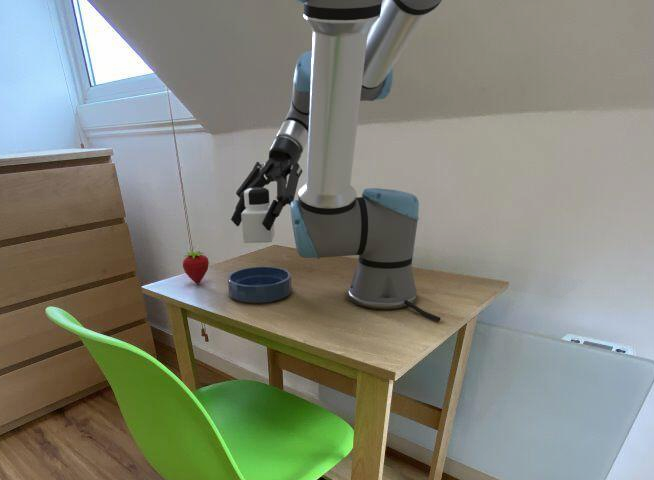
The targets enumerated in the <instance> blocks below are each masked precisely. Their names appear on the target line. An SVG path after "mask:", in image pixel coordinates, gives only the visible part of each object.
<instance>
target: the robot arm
mask: <svg viewBox="0 0 654 480" xmlns="http://www.w3.org/2000/svg"><path fill="white" fill-rule="evenodd" d="M295 1H297V2H298V3H300V4H303V18H304V20H305V21H306V22H307V23H308V25H309V26H310V28H311V30H312V42H311V43H312V44H311V45H312V46H311V50H308V51H305V52H303V53H302V54H301V55H300V56H299V58H298V59H297V62H296V64H295V69H294V74H293V86H292V95H291V99H290V107H289V110H288V112H287V115H286V116H285V119H284V120H283V123H282V124H281V126H280V128H279V130H278V132H277V134H276V136H275V139H274V140H273V142H272V144H271V146H270V148H269V151H268V159H267V160H266V161H265V162H264V163H261V162H260V161H256V162H255V163H254V166H253V168H252V170H251V171H250V172H249V174H248V175H247V177H246V178H245V179H244V181H243V182H242V184H241V185H240V186H239V187H238V189H237V190H236V192H235V194H236V196H237V197H238V198H239V199H238V202H237V204H236V205H235V210H234V212H233V214H232V216H231V218H230V220H231V222H232V223H233V224H234V225H235V226H236V227H240V226H241V224H242V217H241V213H242V212H243V211H244V210H245V209H246V207H245V199H244V191H245V190H247V189H249V188H258V187H260V188H265V187H266V186H268V185H269V184H270V183H272V182H276V196H275V199H273V200H272V201H271V204H270V206H269V207H270V208H269V210H268V212H267V214H266V216H265V218H264V220H263V222H262V224H263V226H264V227H265V228H266V229H267V230H269V231H270V229H271V227H272V225H273V223H274V224H275V221H276V219H277V218H279V217H280V215H281V212H282V210H283V208H284V207H285V206H286V205H289V206H290V216H291V217H290V218H291V224H292V230H293V231H292V232H293V238H294V242H295V249H296V252H297V254H298V255H299V256H300V257H301V258H304V259H310V258H311V259H320V258H334V257H348V256H349V257H350V256H358V263H357V267H356V270H355V272H354V275H353V277H352V280H351V283H350V284H349V288H348V299H349V300H350V302H351V303H353V304H355V305H357V306H359V307H362V308H367V309H373V310H386V311H387V310H397V309H403V308H407V307H409V308H410V309H412V310H414V311H415V312H417V313H418V314H420V315H422V316H424V317H426V318H428V319H431V320H433V321H436V322H440V321H441V317H440V316H438V315H435V314H433V313H429V312H428V311H425V310H423V309H421V308H420V307H419V306H417V305H415V304H414V303H415V302H416V299H417V287H416V282H415V277H414V272H413V257H414V250H415V244H416V235H417V228H418V221H419V219H420V217H419V210H420V201H419V198H418V197H417V196H416V195H415V194H413V193H410V192H407V191H402V190H396V189H390V188H380V187H371V188H370V187H367V188H365V189H363V190H362V193H361V196H358V195H357V193H358V192H357V191H356V189H355V187H353V185H352V183H351V182H352V174H353V167H354V166H353V164H354V156H355V147H356V141H357V140H356V138H357V131H358V130H357V129H358V121H359V112H360V104H361V102H367V101H369V102H374V101H377V100H378V101H379V100H384V99H386V98H387V97H388V96H389V95H390V93H391V88H392V86H393V80H394V68H393V67H394V66H395V64H396V62H397V61H398V59H399V58H400V56H401V55H402V53H403V51H404V50H405V48H406V46H407V44H408V43H409V41H410V40H411V38H412V37H413V35H415V34H414V33H415V32H416V30H417V29H418V27H419V26H420V24H421V22H423V19H424V18H425V16H426V15H428V14H430V13H432V12H433V11H435V10H436V9H437V7H438V6H439V5H440V4H441V3H442V1H443V0H295ZM306 147H307V163H306V183H305V184H304V185H302V186H301V187H300V188H299V190H298V199H295V196H296V192H297V188H298V185H299V180H300V177H301V175H302V173H303V169H302V167H301V166H300V163H299V161H300V159H301V157H302V154H303V153H304V150H305V148H306Z"/></svg>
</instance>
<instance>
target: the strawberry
mask: <svg viewBox="0 0 654 480" xmlns="http://www.w3.org/2000/svg"><path fill="white" fill-rule="evenodd" d="M194 248H195V247H193V248H192V250H194ZM184 257H185V258H184V259H183V261H182V268H183V270H184V273H185V274H186V275H187V277H189V279H190V280H191V281H192V282H194V283H195V284H196V285H199V284H200V283H201V282H202V280H203V278H204V277H205V275H206V274H207V272H208V270H209V264H210V261H209V258H208V257H207V256H206V255H205V254H204V252H201V251H200V250H199V251H190V252H186V255H184Z"/></svg>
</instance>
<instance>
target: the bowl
mask: <svg viewBox="0 0 654 480" xmlns="http://www.w3.org/2000/svg"><path fill="white" fill-rule="evenodd" d="M227 287H228V295H229V296H230V297H231V299H234V300H236V301H239V302H244V303H251V304H261V303H269V302H275V301H278V300H281V299H284V298H286V297H288V296H289V295H290V294H291V293H292V274H291V272H290V271H288V270H287V269H285V268H282V267H277V266H264V265H262V266H261V265H260V266H252V267H245V268H241V269H237V270H235V271H233V272H231V273H230V274H229V275H228V276H227Z"/></svg>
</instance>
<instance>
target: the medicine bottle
mask: <svg viewBox="0 0 654 480" xmlns="http://www.w3.org/2000/svg"><path fill="white" fill-rule="evenodd" d="M244 199H245V207H246V209H245V210H244V211H243V212H242V213H241V217H242V221H241V226H242V227H241V229H242V240H243V241H242V242H243V243H244V244H253V243H255V244H256V243H257V244H258V243H272V242H273V240H274V237H275V222H274V223H273V225H272V227H271V229H270V231H269V230H267V229H266V228H265V227H264V226H263V224H262V222H263V220H264V218H265V216H266V214H267V212H268V210H269V208H270V206H271V204H270V190H269V189H268V188H266V187H263V188H260V187H258V188H249V189H247V190H245V191H244Z"/></svg>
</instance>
